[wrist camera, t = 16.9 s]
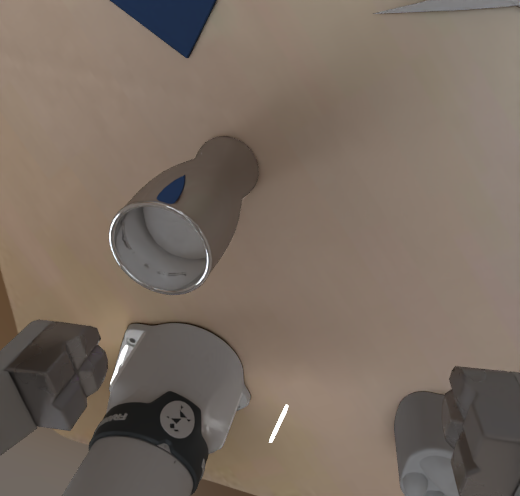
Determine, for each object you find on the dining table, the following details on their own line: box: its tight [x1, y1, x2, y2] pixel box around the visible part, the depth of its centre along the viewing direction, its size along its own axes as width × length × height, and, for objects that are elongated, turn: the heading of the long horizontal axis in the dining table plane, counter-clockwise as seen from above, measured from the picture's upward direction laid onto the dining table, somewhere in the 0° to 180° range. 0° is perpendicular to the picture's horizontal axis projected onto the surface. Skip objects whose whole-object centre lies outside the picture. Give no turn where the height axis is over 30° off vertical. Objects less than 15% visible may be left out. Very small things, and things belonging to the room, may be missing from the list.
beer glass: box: [109, 136, 259, 295], centre depth 29 cm, size 7×7×15 cm
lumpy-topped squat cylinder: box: [394, 392, 459, 496], centre depth 44 cm, size 10×13×9 cm
